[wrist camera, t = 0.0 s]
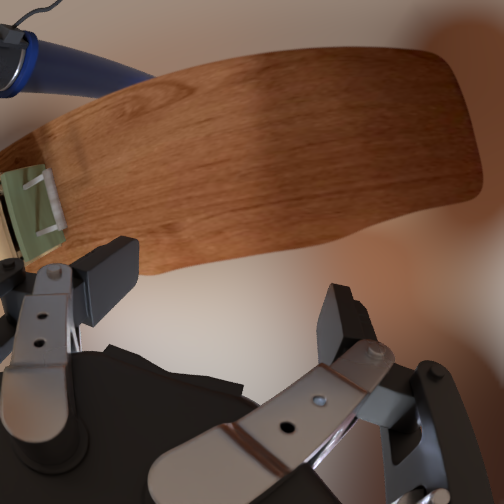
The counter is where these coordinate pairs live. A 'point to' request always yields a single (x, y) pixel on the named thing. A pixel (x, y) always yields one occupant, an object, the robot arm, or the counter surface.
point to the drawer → (32, 210)
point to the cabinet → (3, 245)
